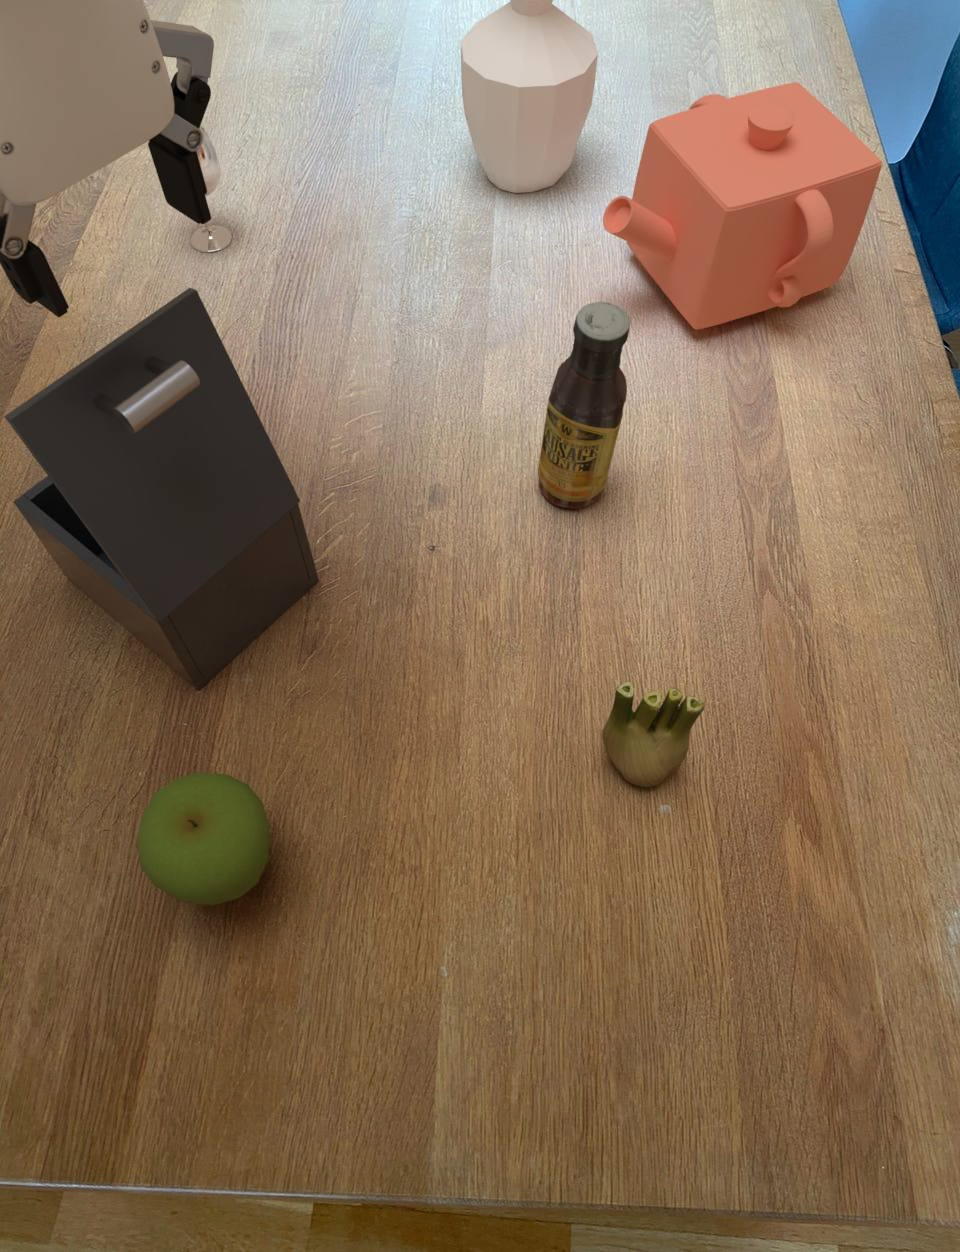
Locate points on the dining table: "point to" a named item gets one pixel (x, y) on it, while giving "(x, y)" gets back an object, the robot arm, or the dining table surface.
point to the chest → (206, 619)
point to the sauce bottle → (585, 409)
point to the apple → (204, 838)
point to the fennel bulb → (649, 734)
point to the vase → (527, 92)
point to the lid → (160, 453)
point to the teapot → (746, 202)
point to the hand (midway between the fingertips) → (121, 256)
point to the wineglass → (209, 235)
